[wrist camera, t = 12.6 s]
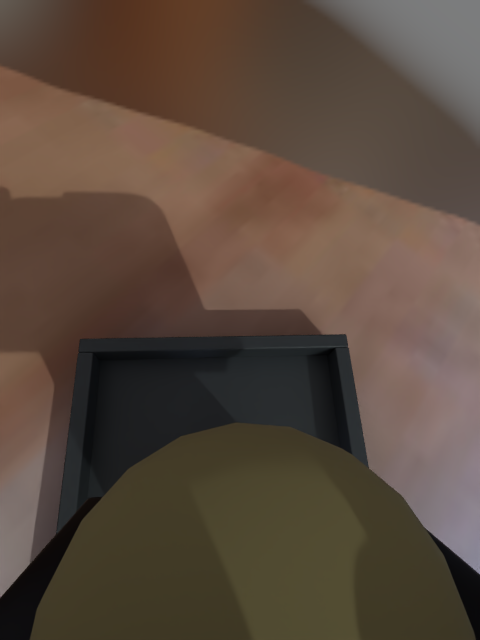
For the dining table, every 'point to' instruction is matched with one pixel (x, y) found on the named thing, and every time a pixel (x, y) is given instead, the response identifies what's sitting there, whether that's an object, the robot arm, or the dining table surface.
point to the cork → (251, 550)
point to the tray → (199, 399)
